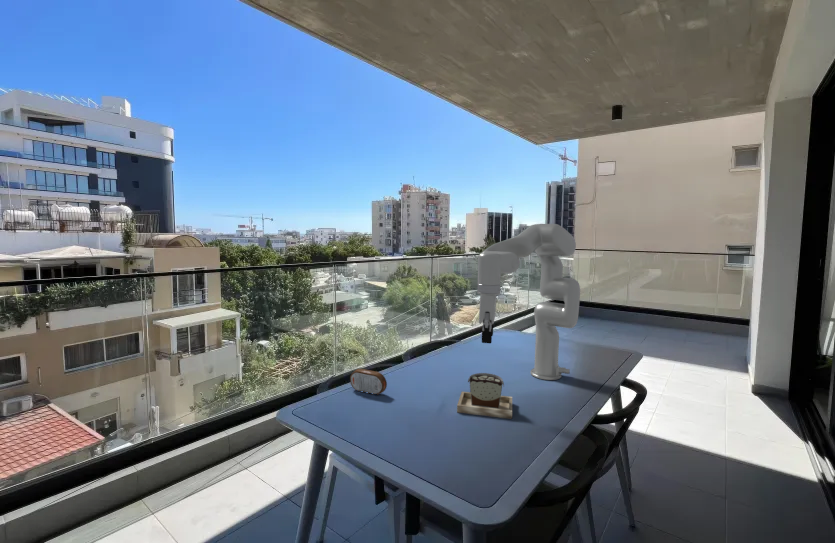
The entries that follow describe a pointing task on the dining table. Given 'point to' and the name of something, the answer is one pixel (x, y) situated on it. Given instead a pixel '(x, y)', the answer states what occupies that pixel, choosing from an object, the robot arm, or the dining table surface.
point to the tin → (368, 381)
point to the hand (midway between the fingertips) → (487, 339)
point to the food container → (485, 390)
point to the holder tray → (502, 412)
